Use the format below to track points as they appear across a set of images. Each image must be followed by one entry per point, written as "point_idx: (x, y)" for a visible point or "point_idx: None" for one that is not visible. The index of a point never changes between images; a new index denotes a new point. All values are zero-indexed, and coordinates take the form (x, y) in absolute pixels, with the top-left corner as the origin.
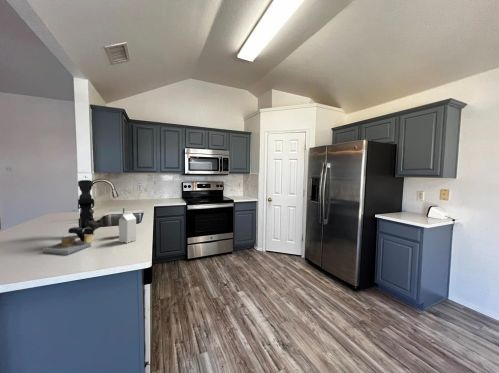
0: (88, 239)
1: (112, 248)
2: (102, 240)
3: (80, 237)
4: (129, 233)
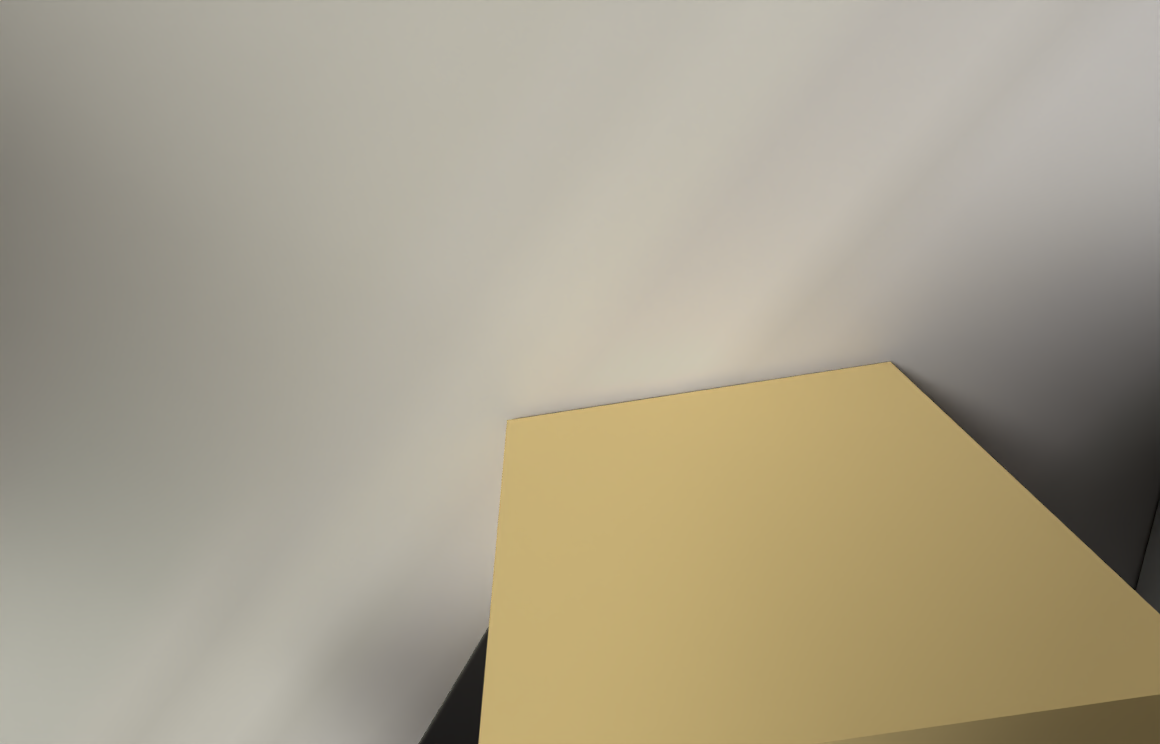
0: (830, 490)
1: None
2: (65, 98)
3: None
4: None
